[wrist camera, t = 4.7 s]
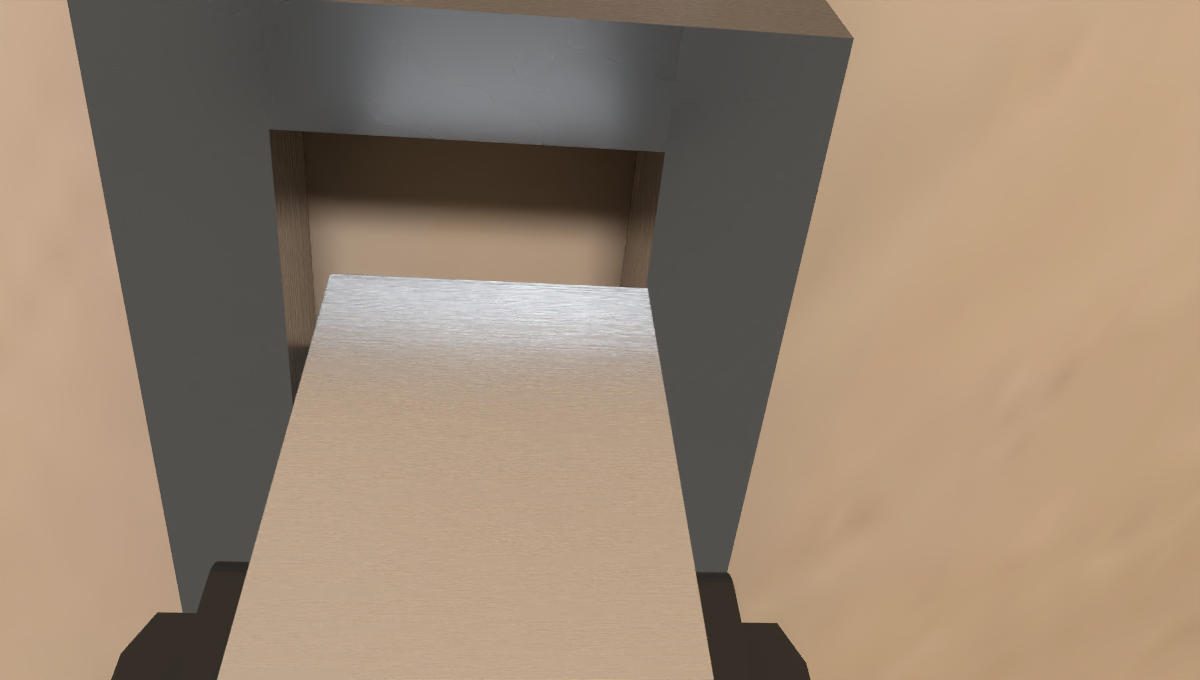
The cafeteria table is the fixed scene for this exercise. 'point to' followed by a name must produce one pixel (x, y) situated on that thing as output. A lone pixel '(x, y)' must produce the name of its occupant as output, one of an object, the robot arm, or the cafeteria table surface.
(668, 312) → the slotted rack
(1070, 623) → the cafeteria table surface
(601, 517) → the steel block
